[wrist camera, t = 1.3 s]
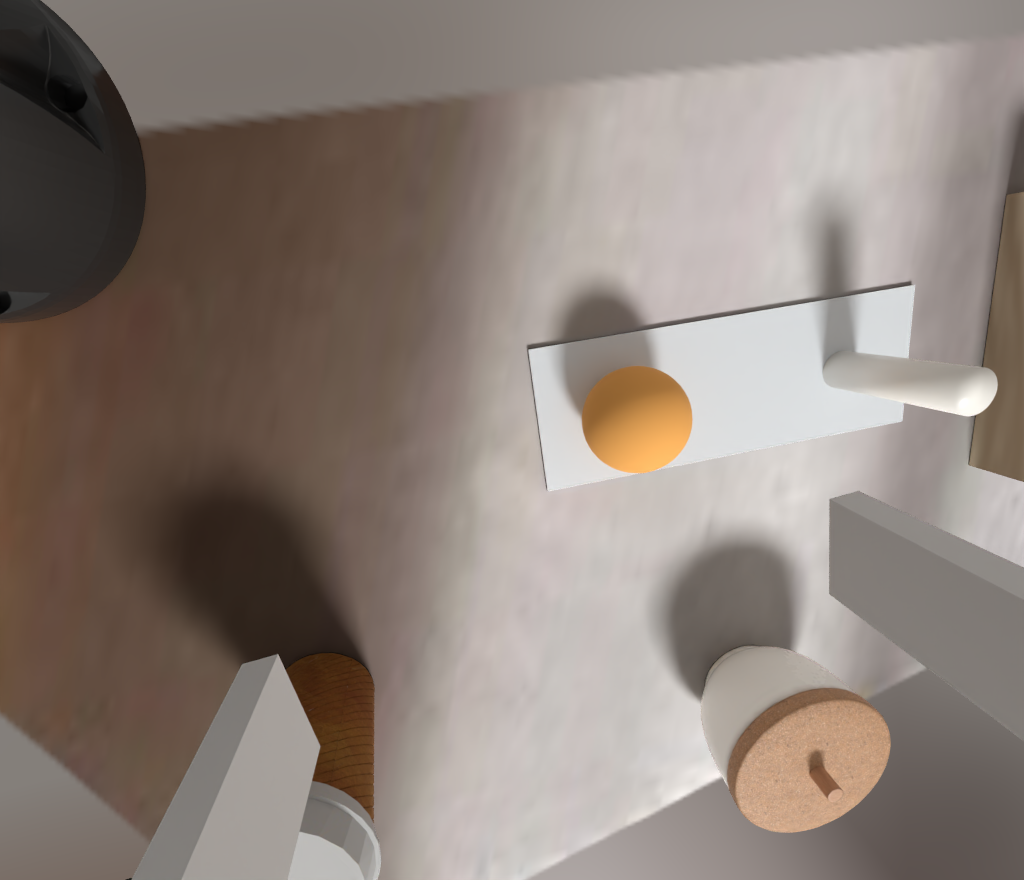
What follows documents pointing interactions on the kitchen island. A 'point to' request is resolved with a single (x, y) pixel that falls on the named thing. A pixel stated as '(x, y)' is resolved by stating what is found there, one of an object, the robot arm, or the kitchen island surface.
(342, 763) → the disposable coffee cup
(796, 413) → the plate
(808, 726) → the lidded jar
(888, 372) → the pin
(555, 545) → the kitchen island surface
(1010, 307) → the backstop
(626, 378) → the ball
